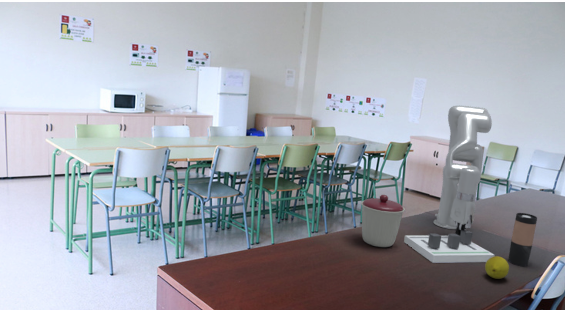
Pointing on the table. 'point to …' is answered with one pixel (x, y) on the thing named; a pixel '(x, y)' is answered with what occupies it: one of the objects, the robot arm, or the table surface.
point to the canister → (380, 221)
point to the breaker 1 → (434, 240)
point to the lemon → (497, 267)
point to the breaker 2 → (453, 240)
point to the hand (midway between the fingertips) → (459, 237)
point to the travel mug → (522, 239)
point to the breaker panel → (448, 251)
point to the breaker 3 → (466, 237)
